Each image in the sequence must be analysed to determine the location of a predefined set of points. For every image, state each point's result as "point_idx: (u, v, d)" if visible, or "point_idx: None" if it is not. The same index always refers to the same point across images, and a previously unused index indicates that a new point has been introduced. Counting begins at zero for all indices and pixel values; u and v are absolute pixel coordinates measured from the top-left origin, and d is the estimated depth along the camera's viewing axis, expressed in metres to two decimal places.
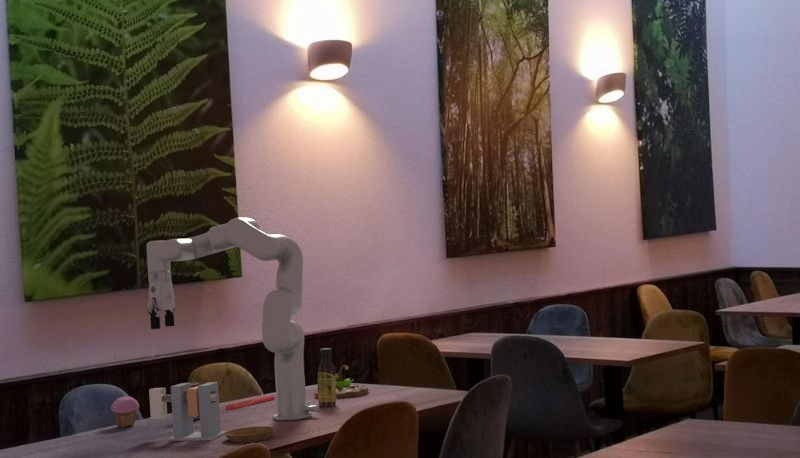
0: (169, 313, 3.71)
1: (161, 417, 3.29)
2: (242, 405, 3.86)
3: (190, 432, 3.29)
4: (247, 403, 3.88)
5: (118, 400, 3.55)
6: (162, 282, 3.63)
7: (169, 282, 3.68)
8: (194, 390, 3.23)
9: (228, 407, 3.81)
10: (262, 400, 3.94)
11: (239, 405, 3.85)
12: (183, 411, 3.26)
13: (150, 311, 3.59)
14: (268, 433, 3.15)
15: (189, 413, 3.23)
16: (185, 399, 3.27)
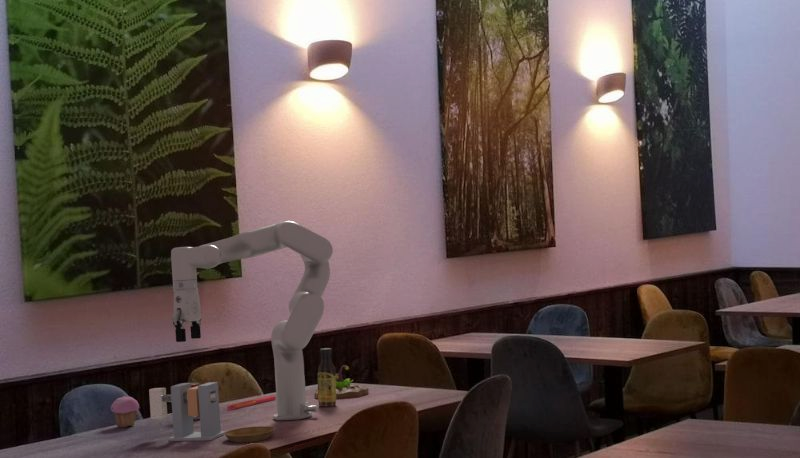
0: (195, 324, 3.47)
1: (161, 417, 3.29)
2: (244, 405, 3.85)
3: (190, 432, 3.29)
4: (249, 403, 3.88)
5: (118, 400, 3.55)
6: (188, 291, 3.39)
7: (195, 291, 3.43)
8: (194, 390, 3.23)
9: (230, 407, 3.80)
10: (263, 400, 3.94)
11: (241, 405, 3.84)
12: (183, 411, 3.26)
13: (175, 323, 3.35)
14: (268, 433, 3.15)
15: (189, 413, 3.23)
16: (185, 399, 3.27)
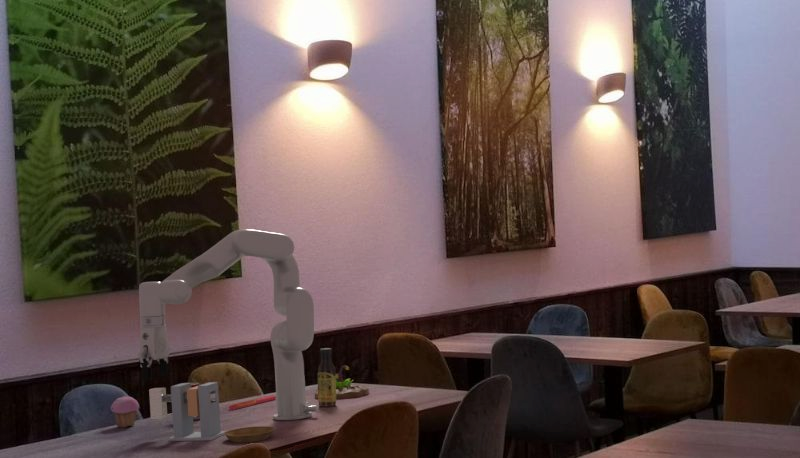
0: (162, 362, 3.35)
1: (161, 417, 3.29)
2: (245, 405, 3.85)
3: (190, 432, 3.29)
4: (249, 403, 3.87)
5: (118, 400, 3.55)
6: (155, 328, 3.27)
7: (163, 328, 3.32)
8: (194, 390, 3.23)
9: (231, 407, 3.80)
10: (264, 400, 3.94)
11: (242, 405, 3.84)
12: (183, 411, 3.26)
13: (141, 361, 3.23)
14: (268, 433, 3.15)
15: (189, 413, 3.23)
16: (185, 399, 3.27)
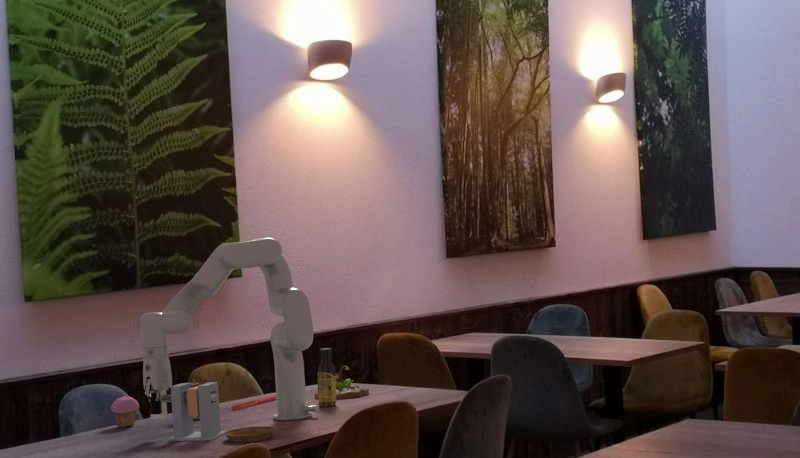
0: None
1: (161, 417, 3.29)
2: (247, 405, 3.84)
3: (190, 432, 3.29)
4: (252, 403, 3.87)
5: (118, 400, 3.55)
6: (158, 359, 3.27)
7: (165, 358, 3.31)
8: (194, 390, 3.23)
9: (235, 407, 3.79)
10: (265, 400, 3.93)
11: (244, 405, 3.83)
12: (183, 411, 3.26)
13: None
14: (268, 433, 3.15)
15: (189, 413, 3.23)
16: (185, 399, 3.27)
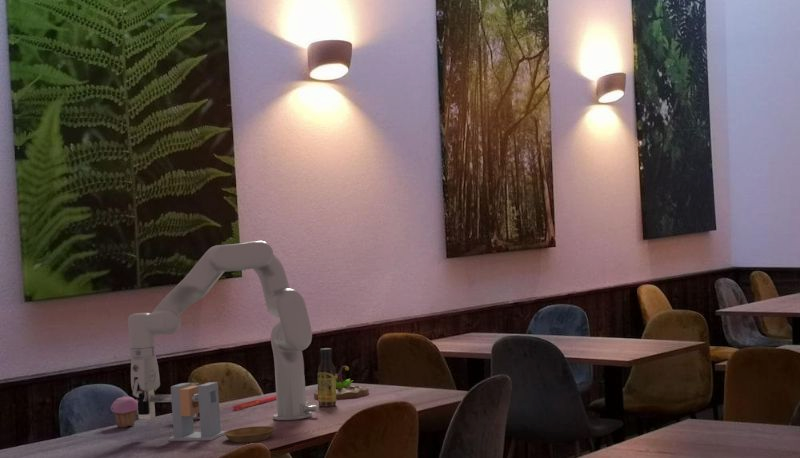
0: None
1: (149, 417, 3.30)
2: (248, 405, 3.84)
3: (190, 432, 3.29)
4: (252, 403, 3.87)
5: (118, 400, 3.55)
6: (145, 360, 3.28)
7: (153, 359, 3.33)
8: (186, 390, 3.23)
9: (236, 407, 3.79)
10: (266, 400, 3.93)
11: (245, 405, 3.83)
12: None
13: None
14: (268, 433, 3.15)
15: (181, 413, 3.24)
16: None
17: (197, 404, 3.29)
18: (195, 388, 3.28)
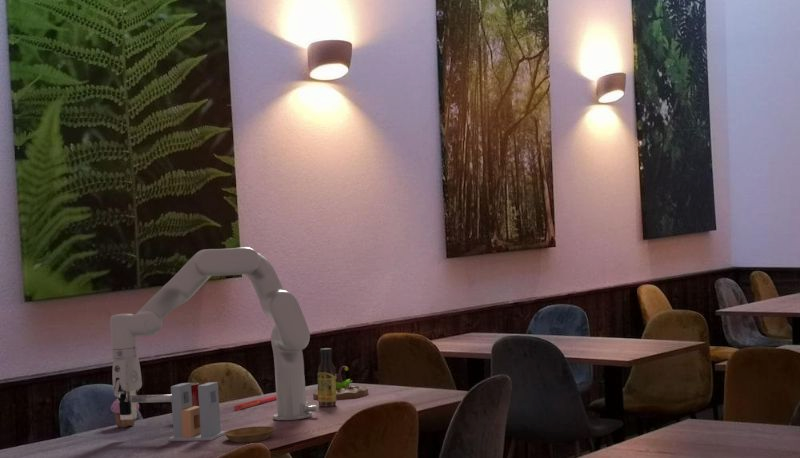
0: None
1: (130, 418, 3.31)
2: (249, 405, 3.84)
3: None
4: (253, 403, 3.86)
5: None
6: (127, 360, 3.30)
7: (135, 359, 3.34)
8: (188, 411, 3.23)
9: (237, 407, 3.78)
10: (266, 400, 3.93)
11: (246, 405, 3.83)
12: None
13: None
14: (268, 433, 3.15)
15: (183, 434, 3.24)
16: (154, 400, 3.30)
17: (199, 425, 3.29)
18: (197, 409, 3.27)
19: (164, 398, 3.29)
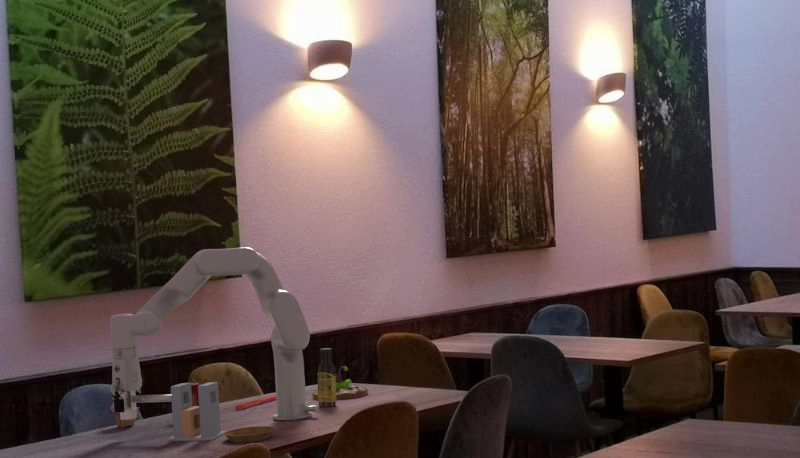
0: None
1: (130, 418, 3.31)
2: (250, 405, 3.84)
3: None
4: (254, 403, 3.86)
5: None
6: (127, 360, 3.30)
7: (135, 359, 3.34)
8: (188, 411, 3.23)
9: (238, 407, 3.78)
10: (267, 400, 3.93)
11: (247, 405, 3.83)
12: None
13: (113, 393, 3.26)
14: (268, 433, 3.15)
15: (183, 434, 3.24)
16: (154, 400, 3.30)
17: (199, 425, 3.29)
18: (197, 409, 3.27)
19: (164, 398, 3.29)
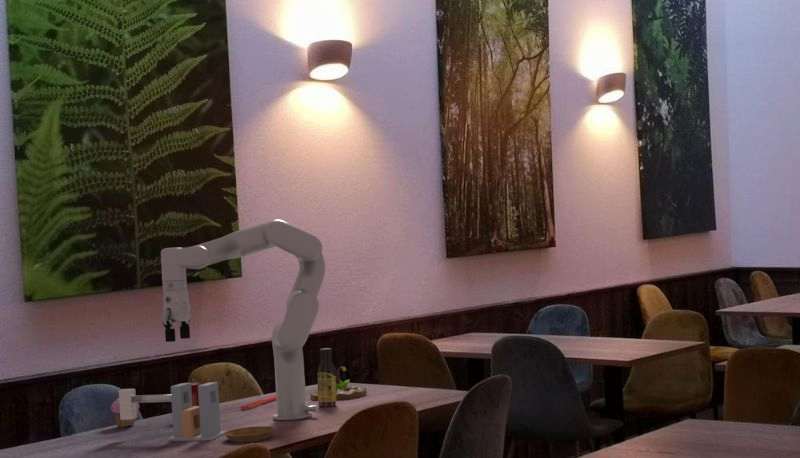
0: (184, 324, 3.50)
1: (130, 418, 3.31)
2: (254, 405, 3.83)
3: None
4: (258, 403, 3.86)
5: (118, 400, 3.55)
6: (177, 292, 3.42)
7: (185, 292, 3.46)
8: (188, 411, 3.23)
9: (244, 407, 3.77)
10: (269, 400, 3.93)
11: (252, 405, 3.82)
12: None
13: (165, 323, 3.38)
14: (268, 433, 3.15)
15: (183, 434, 3.24)
16: (154, 400, 3.30)
17: (199, 425, 3.29)
18: (197, 409, 3.27)
19: (164, 398, 3.29)
